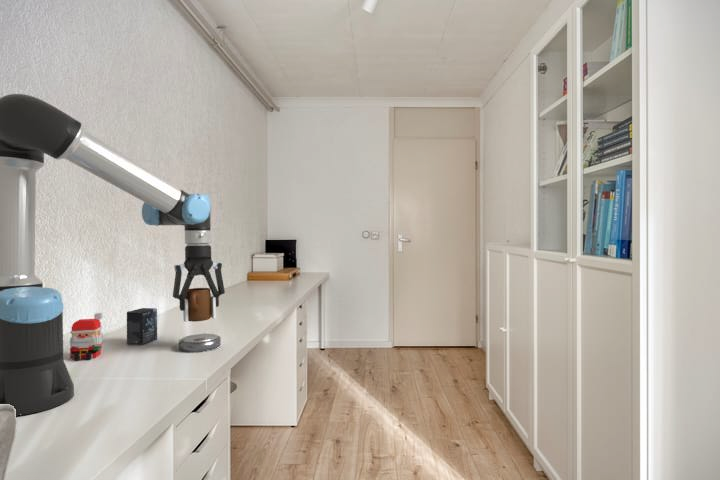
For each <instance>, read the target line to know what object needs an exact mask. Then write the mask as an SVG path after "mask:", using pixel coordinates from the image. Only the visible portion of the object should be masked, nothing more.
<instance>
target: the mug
mask: <svg viewBox="0 0 720 480" xmlns="http://www.w3.org/2000/svg"><path fill="white" fill-rule="evenodd" d="M211 295H212V293H211V289H210V287H208V288H207V287H194V288H192V287H191V288H189V290H188V292H187V295H186V298H185V299H187V300H188V322H203V321H209V320H210V319H211V318H212V317H211Z"/></svg>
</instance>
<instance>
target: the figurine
mask: <svg viewBox="0 0 720 480" xmlns="http://www.w3.org/2000/svg"><path fill="white" fill-rule="evenodd" d="M93 316H94V317H93V318H84V319H83V318H82V319H78V320H76V321H75V322H73V323H72V326H71V330H70V334H71V337H69V338H70V339H69V342H70V343H69V351H70V353H69V357H70V359H72V360H74V362H78V361H81V360H86V361H88V360H89V361H90V360H93V359H96V358H97V357H99V355H101V353H102V351H101V350H102V347H103V344H102V343H103V332H102V331H101V330H103V326H102V323H101V320H102V319H103V312H95V313H94V315H93Z"/></svg>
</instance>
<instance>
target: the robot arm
mask: <svg viewBox="0 0 720 480" xmlns="http://www.w3.org/2000/svg"><path fill="white" fill-rule="evenodd" d="M45 154H46V155H48V156H50V157H51V158H53V159H55V160H57V161H58V160H62V159H65V160H67V161H68V162H70V163H72V164H74V165H76V166H78V167H79V168H81V169H83V170H85V171H87V172H89V173H91V174H93V175H94V176H95V177H98V178H100V179H101V180H103V181H105V182H107V183H109V184H111V185H112V186H115V187H116V188H118V189H120V190H122V191H123V192H126V193H127V194H129V195H131V196H132V197H134V198H136V199H138V200H140V201H141V202H143V204H142V207H141V216H142V217H141V218H142V220H143V222H144V224H146V225H148V226H156V227H158V226H183V227H184V244H186V246H184V255H185V256H184V258H185V259H184V262H183V263H181V264H175V265H174V272H175V274H174V283H173V290H172V297H173V298H174V299H177V300H179V310H180V311H181V312H183V313H182V316H183V319H182V320H183V322H185V323H187V322H189V321H188V300H187V299H185V298H186V295H187V292H188V290H189V289H190V287H191V284H192V282H193V279H194V278H195V276H203V277H204V279H205V280H206V283H207V285H208V288H210V293H211V295H212V296H211V318H212V319H217V308H218V307H219V306H220V303H219V302H220V300H219V298H220V296H221V295H224V294H225V293H226V292H225V287H224V285H225V284H224V280H223V274H222V267H223V264H222V263H221V262H213V261H214V260H212V246H211V245H210V244H211V243H212V235H211V234H212V233H211V232H212V231H211V227H212V226H211V224H212V223H211V211H212V209H211V200H210V196H209V195H207V194H203V193H188V192H186V191H185V190H183V189H181V188H179V187H177V186H176V185H174V184H172V183H171V182H169V181H168V180H166V179H164V178H163V177H161V176H159V175H158V174H156V173H155V172H153V171H151V170H149V169H148V168H146V167H145V166H143V165H142V164H140V163H138V162H137V161H135V160H134V159H132V158H130V157H128V156H127V155H125V154H124V153H122V152H120V151H118V150H117V149H116V148H114V147H113V146H110V145H109V144H107V143H106V142H104V141H103V140H101V139H99V138H97V137H96V136H94V135H92V134H91V133H89V132H88V131H86V130H85V128H84V125H83V123H82V122H81V121H79V120H77V119H75V118H74V117H72V116H71V115H69V114H67V113H66V112H63V111H62V110H61V109H59V108H57V106H54V105H52V104H51V103H48V102H46V101H44V100H43V99H40V98H38V97H35V96H32V95H28V94H23V93H12V94H6V95H4V96H1V97H0V404H10V405H12V406H14V408H15V409H16V416H15V417H18V415H20V414H26V415H30V413H31V414H35V412H36V413H39V412H43V411H47V410H51V409H53V408H56V407H59V406H61V405H63V404H65V403H68V402H69V401H70V400H71V399H73V397H74V396H75V386H74V385H75V384H74V382H73V379H72V378H71V374H70V373H69V370H68V368H67V366H66V363H65V361H64V325H63V324H64V323H63V322H64V320H63V319H64V317H63V316H64V314H63V313H64V312H63V311H64V303H63V298H62V297H63V296H62V294H61V293H60V292H59V290H58V289H54V288H51V287H43V281H42V280H41V279H40V278H39V277H38V276H37V275H36V274H35V272H36V271H35V269H36V263H35V262H36V260H35V259H36V192H37V191H36V187H37V185H36V183H37V181H36V179H37V178H36V175H37V171H39V170H40V169H42V168H43V167H44V166H45ZM184 268H185V269H186V270H187V274H186V278H185V280H184V282H183V286H182V289H181V282H182V276H183V271H184ZM211 268H213V270H214V272H215V273H214V274H215V280H216V284H215V283H214V279H213V278H212V274H211V272H210V270H211ZM216 285H217V287H216ZM58 405H59V406H58ZM55 406H56V407H55ZM20 416H21V415H20Z"/></svg>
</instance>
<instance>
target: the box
mask: <svg viewBox="0 0 720 480" xmlns="http://www.w3.org/2000/svg"><path fill="white" fill-rule="evenodd" d="M157 340H158V308H156V307H155V308H153V307H151V308H150V307H141V308H137V309H134V310H130V311H129V310H128V311H126V345H132V346H143V345H145V344H147V343H150V342H154V341H157Z"/></svg>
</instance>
